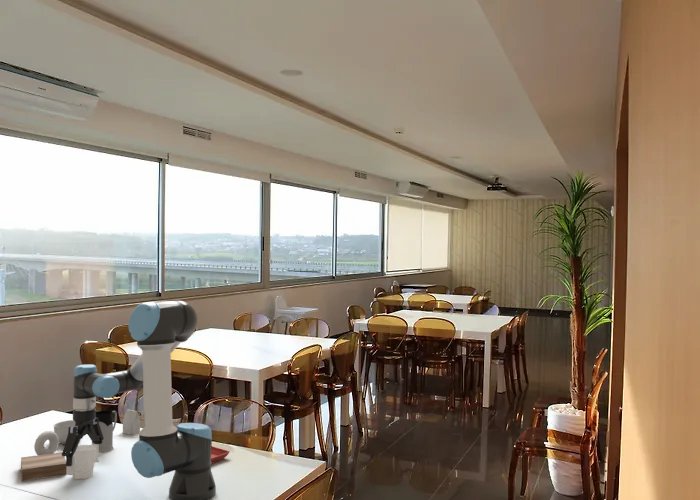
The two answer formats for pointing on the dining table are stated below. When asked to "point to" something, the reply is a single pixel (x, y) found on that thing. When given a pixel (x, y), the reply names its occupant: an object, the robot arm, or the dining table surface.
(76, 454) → the white cup
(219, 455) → the plant saucer
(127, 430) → the tea bag
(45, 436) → the donut
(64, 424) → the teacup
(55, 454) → the walnut base
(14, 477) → the dining table surface
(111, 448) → the gray pitcher
